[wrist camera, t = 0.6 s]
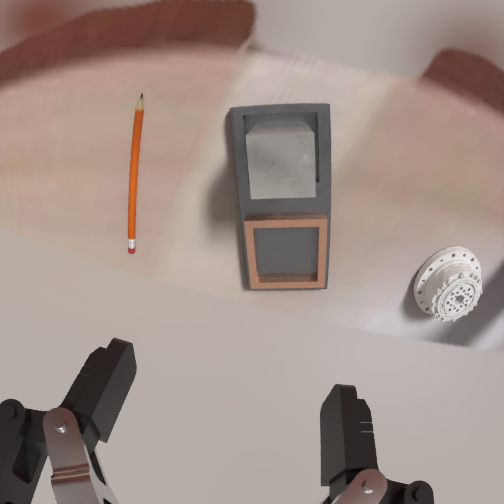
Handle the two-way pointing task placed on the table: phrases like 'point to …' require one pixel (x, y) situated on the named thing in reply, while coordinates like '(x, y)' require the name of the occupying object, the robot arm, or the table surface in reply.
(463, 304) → the mechanical component
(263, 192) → the block
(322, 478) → the robot arm
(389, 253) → the table surface
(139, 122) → the pencil
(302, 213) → the double frame tray
